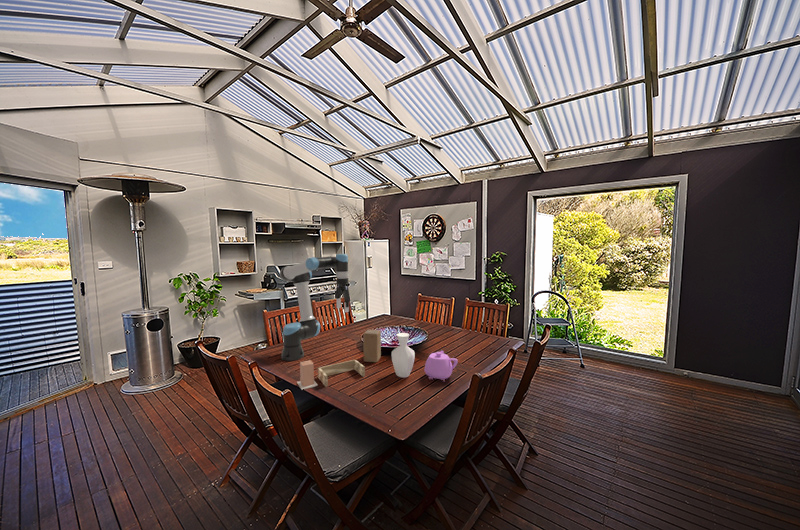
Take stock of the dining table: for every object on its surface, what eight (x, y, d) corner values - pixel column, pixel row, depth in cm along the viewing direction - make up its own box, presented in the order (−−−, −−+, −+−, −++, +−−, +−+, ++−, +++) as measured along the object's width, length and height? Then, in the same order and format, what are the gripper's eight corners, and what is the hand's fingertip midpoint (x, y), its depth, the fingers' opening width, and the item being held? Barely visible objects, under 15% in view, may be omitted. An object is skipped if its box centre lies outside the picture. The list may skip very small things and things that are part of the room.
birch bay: (317, 377, 180) (317, 367, 179) (355, 368, 193) (355, 359, 192) (325, 386, 168) (325, 376, 168) (364, 376, 181) (364, 366, 181)
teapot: (460, 371, 189) (460, 348, 188) (455, 385, 170) (455, 359, 169) (429, 367, 195) (429, 344, 194) (421, 380, 176) (422, 355, 175)
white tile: (297, 382, 173) (297, 381, 173) (312, 379, 178) (312, 378, 178) (301, 390, 164) (301, 388, 164) (317, 385, 169) (317, 384, 169)
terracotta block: (310, 379, 175) (310, 360, 174) (314, 384, 170) (313, 363, 169) (300, 382, 172) (299, 362, 171) (303, 386, 167) (302, 365, 166)
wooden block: (377, 363, 201) (377, 334, 200) (363, 361, 203) (362, 333, 202) (381, 357, 211) (381, 329, 210) (367, 356, 213) (367, 328, 212)
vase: (388, 371, 188) (387, 332, 186) (408, 368, 193) (408, 330, 191) (396, 381, 175) (396, 339, 173) (418, 377, 180) (418, 336, 178)
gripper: (330, 276, 203) (330, 307, 204) (344, 280, 182) (344, 314, 184) (340, 275, 207) (340, 305, 209) (355, 279, 186) (355, 313, 188)
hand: (342, 310), depth 196 cm, fingers open, 13 cm apart
